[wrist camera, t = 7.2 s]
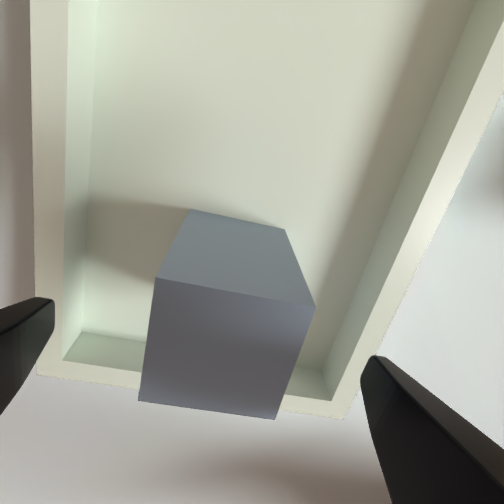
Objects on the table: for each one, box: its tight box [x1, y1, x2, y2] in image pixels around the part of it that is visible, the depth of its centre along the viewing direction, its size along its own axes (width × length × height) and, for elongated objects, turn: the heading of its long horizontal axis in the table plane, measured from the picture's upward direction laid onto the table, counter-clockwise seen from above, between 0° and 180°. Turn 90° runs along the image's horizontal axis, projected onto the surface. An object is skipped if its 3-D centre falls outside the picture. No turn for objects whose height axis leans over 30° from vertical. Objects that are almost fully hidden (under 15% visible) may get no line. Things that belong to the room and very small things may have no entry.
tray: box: [30, 0, 504, 419], centre depth 12 cm, size 20×14×2 cm
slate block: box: [138, 209, 316, 420], centre depth 11 cm, size 4×4×6 cm
